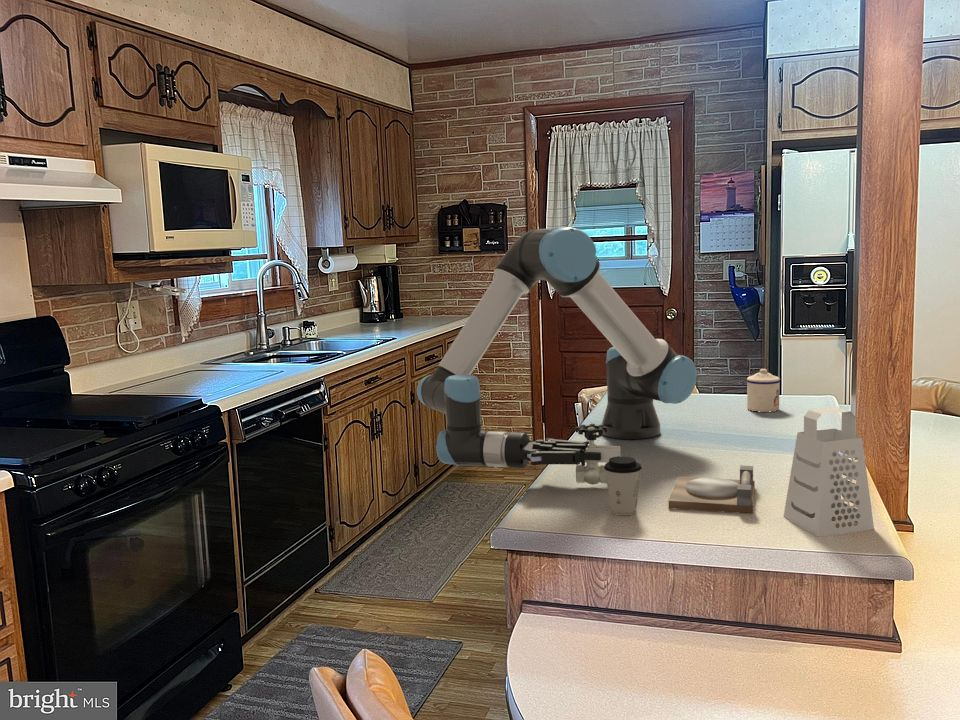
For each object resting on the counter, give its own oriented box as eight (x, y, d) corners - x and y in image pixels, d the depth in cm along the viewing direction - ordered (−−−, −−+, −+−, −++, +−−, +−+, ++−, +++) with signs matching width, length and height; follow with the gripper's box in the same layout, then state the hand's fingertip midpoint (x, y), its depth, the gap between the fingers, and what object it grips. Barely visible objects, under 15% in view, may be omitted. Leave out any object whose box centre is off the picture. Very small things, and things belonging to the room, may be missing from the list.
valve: (608, 489, 166) (606, 430, 165) (575, 488, 168) (573, 430, 166) (609, 479, 173) (608, 423, 171) (578, 479, 174) (576, 423, 172)
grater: (874, 529, 140) (877, 414, 137) (818, 536, 138) (820, 419, 135) (835, 510, 150) (837, 402, 147) (783, 516, 148) (784, 407, 145)
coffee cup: (650, 512, 153) (649, 460, 152) (622, 520, 150) (621, 467, 148) (624, 503, 159) (623, 453, 158) (597, 511, 155) (595, 459, 154)
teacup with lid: (781, 413, 230) (782, 371, 228) (747, 412, 232) (747, 372, 230) (777, 404, 241) (777, 365, 240) (744, 404, 244) (744, 365, 242)
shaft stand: (677, 483, 170) (677, 462, 170) (754, 487, 165) (754, 466, 164) (668, 508, 155) (668, 485, 155) (752, 513, 150) (752, 489, 150)
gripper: (518, 457, 183) (625, 462, 175) (498, 476, 169) (612, 483, 161) (517, 424, 181) (624, 428, 173) (496, 441, 168) (611, 445, 160)
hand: (618, 454), depth 167 cm, fingers closed on valve, 2 cm apart
